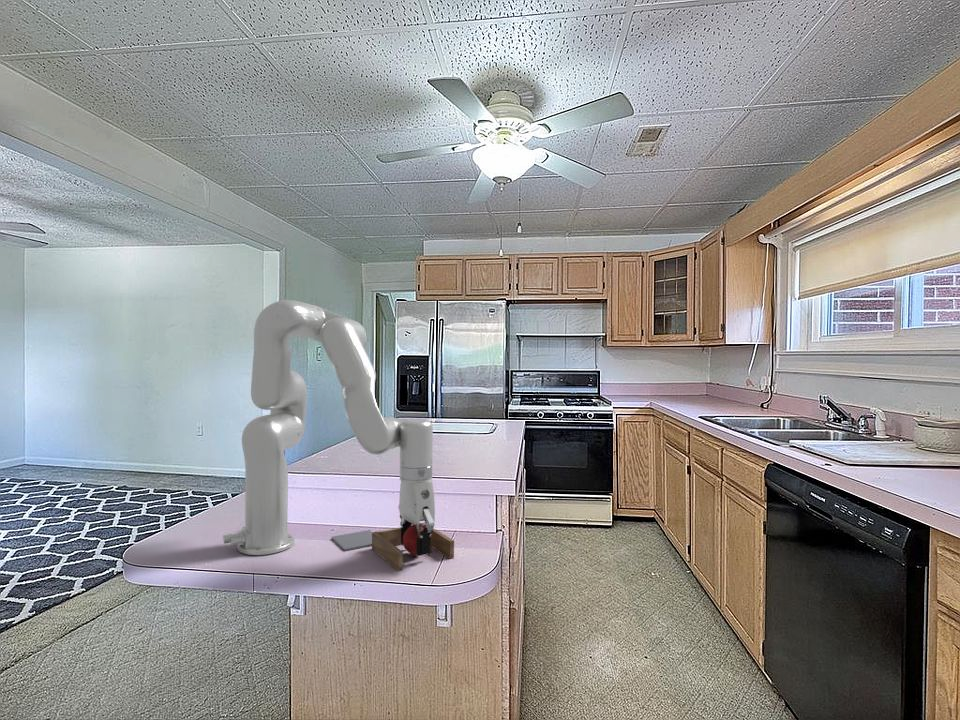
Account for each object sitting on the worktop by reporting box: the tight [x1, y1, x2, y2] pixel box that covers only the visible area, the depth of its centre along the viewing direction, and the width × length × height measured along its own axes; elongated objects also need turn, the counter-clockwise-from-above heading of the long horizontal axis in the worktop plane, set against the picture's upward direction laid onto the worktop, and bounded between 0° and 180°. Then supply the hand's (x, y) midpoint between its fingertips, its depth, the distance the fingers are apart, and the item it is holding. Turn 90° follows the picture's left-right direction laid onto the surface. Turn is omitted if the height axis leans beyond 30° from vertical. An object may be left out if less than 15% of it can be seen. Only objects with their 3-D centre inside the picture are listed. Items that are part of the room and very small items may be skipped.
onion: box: [403, 524, 423, 557], centre depth 122 cm, size 6×6×8 cm
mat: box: [331, 529, 373, 552], centre depth 131 cm, size 10×10×1 cm
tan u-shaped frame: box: [371, 526, 455, 572], centre depth 123 cm, size 14×15×4 cm
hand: (415, 547), depth 122 cm, fingers open, 7 cm apart
